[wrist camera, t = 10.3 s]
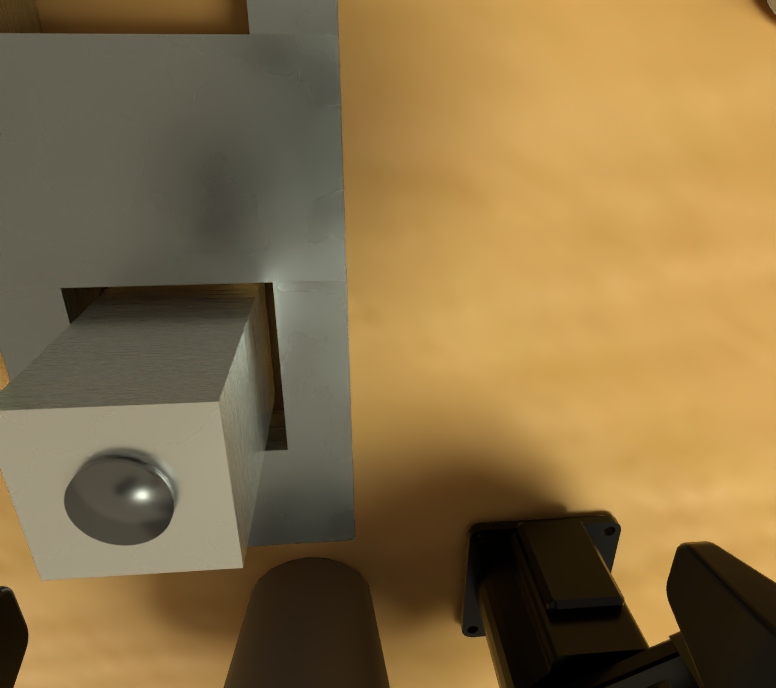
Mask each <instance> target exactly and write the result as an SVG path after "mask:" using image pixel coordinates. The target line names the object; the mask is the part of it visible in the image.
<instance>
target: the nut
mask: <svg viewBox="0 0 776 688" xmlns="http://www.w3.org/2000/svg"><path fill="white" fill-rule="evenodd" d="M274 399H275V388H274V377H273V367H272V357H271V347H270V336H269V326H268V316H267V306H266V296H265V285H264V283H228V284H191V285H154V286H117V287H109V288H108V289H107V290H106V291H104V292H103V293H102V294H101V295H100V296H99V297H98V298H97V299H96V300H95V301H94V302H93V303H92V304H91V305H90V306H89V307H88V308H87V309H86V310H85V311H84V312H83V313H82V314H81V315H80V316H79V317H77V318H76V319H75V320H74V321H73V322H72V323H71V324H70V325H69V326H68V327H67V328H66V329H65V330H64V331H63V332H62V333H61V334H60V335H59V336H58V337H57V338H56V339H55V340H54V341H53V342H52V343H50V344H49V345H48V346H47V347H46V348H45V349H44V350H43V351H42V352H41V353H40V354H39V355H38V356H37V357H36V358H35V359H34V360H33V361H32V362H31V363H30V364H29V365H28V366H27V367H26V368H25V369H23V370H22V371H21V372H20V373H19V374H18V375H17V376H16V377H15V378H14V379H13V380H12V381H11V382H10V383H9V384H8V385H7V386H6V387H5V388H4V389H3V390H2V391H1V392H0V469H1V471H2V474H3V477H4V480H5V482H6V485H7V488H8V491H9V493H10V496H11V499H12V502H13V504H14V507H15V510H16V513H17V515H18V518H19V521H20V524H21V526H22V529H23V532H24V535H25V537H26V540H27V543H28V546H29V548H30V551H31V554H32V557H33V559H34V562H35V565H36V568H37V570H38V573H39V576H40V579H41V581H44V580H60V579H75V578H91V577H107V576H123V575H139V574H155V573H171V572H187V571H202V570H218V569H234V568H243V567H244V561H245V556H246V550H247V545H248V540H249V534H250V529H251V523H252V518H253V513H254V507H255V502H256V496H257V491H258V486H259V480H260V475H261V469H262V464H263V459H264V453H265V448H266V442H267V437H268V432H269V426H270V421H271V415H272V410H273V404H274Z"/></svg>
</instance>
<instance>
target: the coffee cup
mask: <svg viewBox="0 0 776 688" xmlns="http://www.w3.org/2000/svg"><path fill="white" fill-rule="evenodd" d="M224 688H390V686H389V681H388V676H387V671H386V667H385V662H384V657H383V652H382V647H381V642H380V637H379V632H378V627H377V622H376V617H375V612H374V607H373V603H372V598H371V593H370V589H369V585H368V584H367V583H366V581H365V580H364V579H363V577H362V576H361V575H360V573H358V572H357V571H355V570H354V569H352V568H351V567H349V566H347V565H346V564H343V563H340V562H336V561H333V560H330V559H320V558H305V559H299V560H293V561H289V562H286V563H284V564H282V565H280V566H277V567H275V568H273V569H271V570H270V571H269V572H268V573H267V574H265V575H264V576H263V577H262V578H261V579H259V581H258V583H257V585H256V586H255V588H254V590H253V592H252V594H251V597H250V601H249V604H248V607H247V611H246V614H245V617H244V621H243V624H242V628H241V631H240V634H239V638H238V641H237V644H236V648H235V651H234V654H233V658H232V661H231V664H230V668H229V671H228V675H227V678H226V681H225V685H224Z"/></svg>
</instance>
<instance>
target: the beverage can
mask: <svg viewBox="0 0 776 688" xmlns="http://www.w3.org/2000/svg"><path fill="white" fill-rule="evenodd" d="M766 1H767V3H768V5H769V7H770V8H771V9H772V11H773V12H774V13H775V15H776V0H766Z"/></svg>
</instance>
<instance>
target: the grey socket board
mask: <svg viewBox="0 0 776 688" xmlns="http://www.w3.org/2000/svg"><path fill="white" fill-rule="evenodd" d="M247 10H248V21H249V32H250V34H64V33H42V30H41V26H40V22H39V17H38V13H37V9H36V4H35V0H0V351H1V354H2V357H3V360H4V363H5V366H6V369H7V372H8V375H9V378H10V381H12V380H13V379H14V378H15V377H16V376H17V375H18V374H19V373H20V372H21V371H22V370H23V369H25V368H26V367H27V366H28V365H29V364H30V363H31V362H32V361H33V360H34V359H35V358H36V357H37V356H38V355H39V354H40V353H41V352H42V351H43V350H44V349H45V348H46V347H47V346H48V345H49V344H50V343H52V342H53V341H54V340H55V339H56V338H57V337H58V336H59V335H60V334H61V333H62V332H63V331H64V330H65V329H66V328H67V327H68V326H69V325H70V324H71V323H72V322H73V321H74V320H75V319H76V318H77V317H79V316H80V315H81V314H82V313H83V312H84V311H85V310H86V309H87V308H88V307H89V306H90V305H91V304H92V303H93V302H94V301H95V300H96V299H97V298H98V297H99V296H100V295H101V294H102V291H101V287H117V286H154V285H191V284H228V283H265V282H273V292H274V303H275V314H276V325H277V336H278V347H279V358H280V369H281V379H282V390H283V401H284V410H272V415H271V421H270V426H269V432H268V437H267V442H266V448H265V453H264V459H263V464H262V469H261V475H260V480H259V486H258V491H257V496H256V502H255V507H254V513H253V518H252V523H251V529H250V534H249V540H248V545H247V547H248V546H264V545H281V544H297V543H314V542H330V541H346V540H355V521H354V491H353V460H352V430H351V399H350V368H349V338H348V307H347V277H346V246H345V216H344V185H343V155H342V124H341V94H340V63H339V33H338V2H337V0H247Z"/></svg>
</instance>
